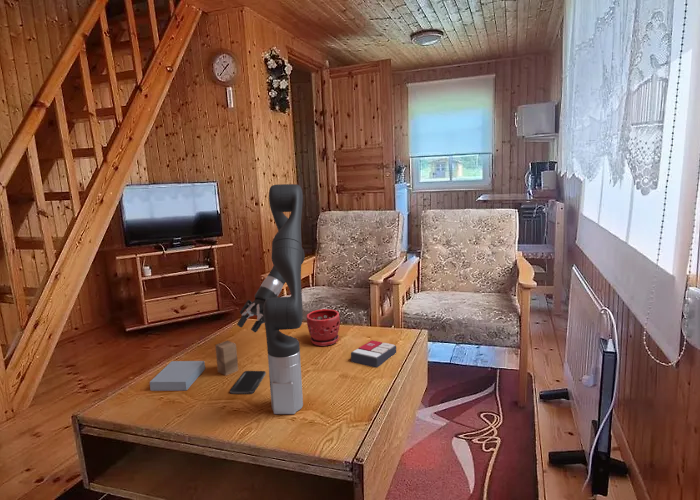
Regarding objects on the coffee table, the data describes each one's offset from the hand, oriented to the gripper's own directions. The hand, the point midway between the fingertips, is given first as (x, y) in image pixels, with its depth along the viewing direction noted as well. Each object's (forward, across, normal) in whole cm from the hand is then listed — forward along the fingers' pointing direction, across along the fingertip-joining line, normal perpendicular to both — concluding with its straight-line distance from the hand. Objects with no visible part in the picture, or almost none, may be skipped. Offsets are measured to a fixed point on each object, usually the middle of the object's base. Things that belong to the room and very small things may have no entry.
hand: (246, 328), depth 164 cm
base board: (+25, -8, -7) cm, 28 cm away
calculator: (-13, +33, +32) cm, 48 cm away
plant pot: (-12, +8, +31) cm, 34 cm away
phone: (+16, +13, +3) cm, 21 cm away
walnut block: (+15, 0, +3) cm, 16 cm away
